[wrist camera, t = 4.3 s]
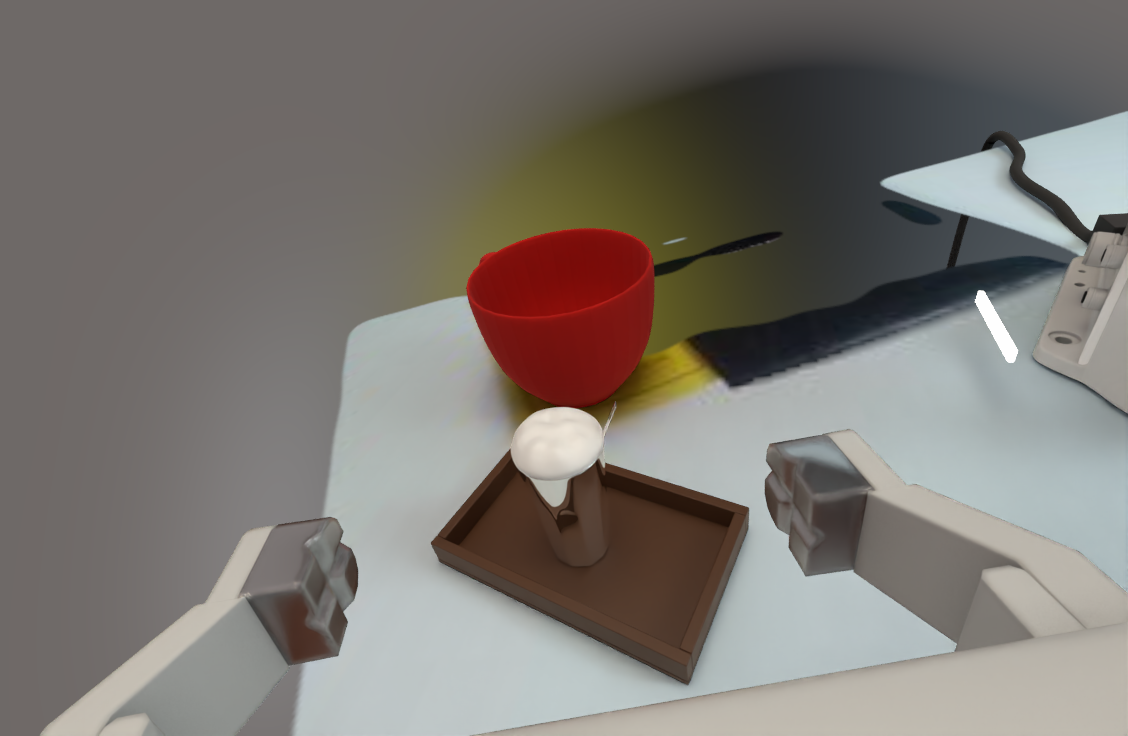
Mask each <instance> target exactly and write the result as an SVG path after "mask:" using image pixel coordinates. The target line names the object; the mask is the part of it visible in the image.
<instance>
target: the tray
mask: <svg viewBox="0 0 1128 736" xmlns="http://www.w3.org/2000/svg"><path fill="white" fill-rule="evenodd" d="M605 476H606V489H607V501H608V513H609V526H610V542H609V545H608V548H607V551H606V554H605V556H603V557H602V558H600V559H599V560H598V561H596V562H595V563H594V564H592V565H591V566H579V567H572V566H570V565H568V564H567V563H565V562H563V561H561V560H560V559H558V558H557V556H556V553H555V551H554V549H553V546H552V544H551V542H550V539H549V537H548V535H547V532H546V530H545V528H544V525H543V523H542V521H541V518H540V516H539V514H538V511H537V509H536V507H535V505H534V503H533V501H532V499H531V497H530V495H529V493H528V491H527V489H526V487H525V485H524V482H523V480H522V478H521V476H520V474H519V472H518V470H517V468H516V466H515V464H514V462H513V459H512V456H511V448H510V450H509V451H508V452H507V453H506V454H505V456H504V457H503V458H502V459H501V460H500V461H499V463H498V464H497V465H496V466H495V467H494V469H493V470H492V471H491V472H490V473H489V474H488V476H487V477H486V478H485V479H484V480H483V482H482V483H481V484H480V485H479V486H478V488H477V489H476V490H475V491H474V492H473V493H472V495H471V496H470V497H469V498H468V499H467V501H466V502H465V503H464V504H463V505H462V506H461V508H460V509H459V510H458V511H457V512H456V514H455V515H454V516H453V517H452V518H451V520H450V521H449V522H448V523H447V524H446V525H445V527H444V528H443V529H442V530H441V531H440V533H439V534H438V536H436V537H435V538H434V540H433V541H432V542H431V545H432V547H433V549H434V551H435V553H436V555H437V557H438V559H439V561H440V562H442V563H444V564H446V565H448V566H450V567H452V568H454V569H456V570H458V571H460V572H462V573H464V574H466V575H468V576H470V577H472V578H474V579H476V580H478V581H480V582H482V583H484V584H486V585H488V586H490V587H492V588H494V589H496V590H498V591H500V592H502V593H504V594H506V595H508V596H510V597H512V598H514V599H516V600H518V601H520V602H522V603H524V604H526V605H528V606H530V607H532V608H534V609H536V610H538V611H540V612H542V613H544V614H546V615H548V616H550V617H552V618H554V619H556V620H558V621H560V622H562V623H564V624H566V625H568V626H570V627H572V628H574V629H576V630H578V631H580V632H582V633H584V634H586V635H588V636H590V637H592V638H594V639H596V640H598V641H600V642H602V643H604V644H606V645H608V646H610V647H612V648H614V649H616V650H618V651H620V652H622V653H624V654H626V655H628V656H630V657H632V658H634V659H637V660H639V661H641V662H643V663H645V664H647V665H649V666H651V667H653V668H655V669H657V670H659V671H661V672H663V673H665V674H667V675H669V676H671V677H673V678H675V679H677V680H679V681H681V682H683V683H685V684H687V685H688V684H689V682H690V679H691V677H692V674H693V671H694V669H695V666H696V664H697V661H698V658H699V656H700V653H701V651H702V648H703V645H704V643H705V640H706V638H707V635H708V632H709V630H710V627H711V624H712V622H713V619H714V617H715V614H716V611H717V609H718V606H719V604H720V601H721V598H722V596H723V593H724V590H725V588H726V585H727V583H728V580H729V577H730V575H731V572H732V570H733V567H734V564H735V562H736V559H737V557H738V554H739V551H740V549H741V546H742V543H743V541H744V538H745V536H746V533H747V530H748V522H749V508H748V507H745V506H742V505H739V504H736V503H732V502H729V501H726V500H723V499H720V498H716V497H713V496H710V495H707V494H704V493H700V492H697V491H694V490H691V489H688V488H684V487H681V486H678V485H675V484H672V483H668V482H665V481H662V480H659V479H656V478H652V477H649V476H646V475H643V474H639V473H636V472H633V471H630V470H627V469H623V468H620V467H617V466H614V465H611V464H607V463H605Z"/></svg>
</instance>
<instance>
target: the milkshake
mask: <svg viewBox="0 0 1128 736" xmlns="http://www.w3.org/2000/svg"><path fill="white" fill-rule="evenodd" d="M615 409H616V401H615V402H614V405H613V407H612V410H611V412H610V415H609V417H608V420H607V423H606V425H605V428H604V430H603V431H602V428H601V426H600V424H599V422H598V421H597V420H596V419H595V418H594V417H593V416H591V415H590V414H588V413H586V412H584V411H582V410H579V409H575V408H570V407H555V408H548V409H543V410H540V411H537V412H535V413H533V414H532V415H530V416H529V417H528V418H527V419H526V420H524V421H523V422H522V423H521V425H520V426H519V427H518V428H517V430H516V432H515V434H514V436H513V439H512V443H511V456H512V459H513V462H514V464H515V466H516V468H517V470H518V472H519V474H520V476H521V478H522V480H523V482H524V485H525V487H526V489H527V491H528V493H529V495H530V497H531V499H532V501H533V503H534V505H535V507H536V509H537V511H538V514H539V516H540V518H541V521H542V523H543V525H544V528H545V530H546V532H547V535H548V537H549V539H550V542H551V544H552V546H553V549H554V551H555V553H556V556H557V558H558V559H560V560H561V561H563V562H565V563H567V564H568V565H570V566H572V567H579V566H591V565H592V564H594V563H595V562H596V561H598V560H599V559H600V558H602V557H603V556H605V554H606V551H607V548H608V545H609V542H610V526H609V513H608V501H607V489H606V476H605V453H604V437H605V434H606V432H607V429H608V427H609V424H610V422H611V419H612V417H613V414H614V412H615Z"/></svg>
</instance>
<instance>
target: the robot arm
mask: <svg viewBox="0 0 1128 736" xmlns="http://www.w3.org/2000/svg"><path fill="white" fill-rule="evenodd" d="M997 140H1001V141H1002V142H1004V143H1005V144H1006V146H1007V147H1008V148H1009V149H1010V151H1011V152H1012V153H1013V155H1014V160H1013V162H1012V164H1011V167H1010V173H1011V176H1012V179H1013V180H1014V181H1015V182H1016V183H1017V184H1018V185H1019V186H1020V187H1021V188H1023V189H1024V190H1026V191H1027V192H1029V193H1030V194H1032V195H1033V196H1035V197H1037V198H1038V199H1040V200H1041V201H1043V202H1044V203H1046V204H1047V205H1048V206H1049V207H1051V208H1052V209H1053V210H1054V212H1055V213H1056V214H1057V215H1058V216H1059V218H1060V219H1061V221H1062V222H1063V223H1064V224H1065V225H1066V227H1067V228H1068V229H1069V230H1070V231H1072V232H1073V233H1074V234H1075V235H1076V236H1078V237H1079V238H1080V239H1082V240H1083V241H1086V242H1088V247H1087V249H1086V252H1085V255H1084V256H1080V257H1076V258H1074V259H1073V260H1072V261H1071V263H1070V265H1069V266H1068V268H1067V270H1066V272H1065V274H1064V277H1063V279H1062V282H1061V284H1060V287H1059V289H1058V291H1057V294H1056V296H1055V299H1054V301H1053V304H1052V306H1051V309H1050V311H1049V314H1048V316H1047V319H1046V321H1045V324H1044V326H1043V329H1042V331H1041V334H1040V336H1039V339H1038V341H1037V344H1036V346H1035V349H1034V351H1033V357H1034V359H1035V360H1036V361H1038V362H1039V363H1040V364H1042V365H1044V366H1046V367H1048V368H1050V369H1052V370H1054V371H1056V372H1059V373H1061V374H1063V375H1066V376H1068V377H1070V378H1073V379H1075V380H1078V381H1080V382H1082V383H1084V384H1085V385H1087V386H1088V387H1090V388H1091V389H1093V390H1094V391H1096V392H1097V393H1098V394H1100V395H1101V396H1102V397H1104V398H1105V399H1106V400H1108V401H1109V402H1110V403H1112V404H1113V405H1115V406H1116V407H1118V408H1119V409H1121V410H1123V411H1124V412H1126V413H1127V414H1128V213H1127V214H1108V215H1099V217H1098V220H1097V222H1096V224H1095V227H1094V229H1093V231H1090V230H1089V229H1087V228H1086V227H1085V226H1084V225H1083V224H1082V223H1081V222H1080V220H1079V219H1078V218H1077V216H1076V215H1075V214H1074V212H1073V211H1072V210H1071V208H1070V207H1069V206H1068V205H1067V204H1066V203H1065V202H1064V201H1063V200H1062V199H1061V198H1059V197H1058V196H1056V195H1055V194H1053V193H1052V192H1050V191H1049V190H1047V189H1045V188H1043V187H1042V186H1040V185H1038V184H1037V183H1035V182H1034V181H1032V180H1031V179H1030V178H1028V177H1027V176H1026V175H1025V174H1024V172H1023V171H1022V165H1023V163H1024V160H1025V151H1024V149H1023V147H1022V146H1021V145H1020V143H1019V142H1018V141H1017V140H1016V139H1015V138H1014V137H1013V136H1012V135H1011V134H1009V133H1007V132H1004V131H998V132H995V133H993V134H992V135H991V136H990V137H989V138H988V139H987V140H986V142H985V143H984V145H983V147H982V150H981V152H984V151H987V150H991V149H992V147H993V145H994V143H995V142H996V141H997ZM968 219H969V215H965V214H962V213H961V216H960V220H959V223H958V226H957V230H956V234H955V237H954V241H953V245H952V248H951V252H950V256H949V260H948V264H947V268H951V267H954V266H955V265H956V261H957V257H958V254H959V250H960V246H961V243H962V239H963V235H964V232H965V229H966V225H967V222H968ZM975 302H976V304H977V306H978V308H979V310H980V312H981V313H982V315H983V317H984V319H985V321H986V323H987V325H988V327H989V328H990V330H991V332H992V334H993V336H994V338H995V340H996V341H997V343H998V345H999V347H1000V349H1001V351H1002V353H1003V354H1004V356H1005V358H1006V360H1007V362H1014V360H1015V358H1016V355H1017V353H1018V350H1017V348H1016V346H1015V345H1014V343H1013V341H1012V339H1011V338H1010V336H1009V334H1008V332H1007V331H1006V329H1005V327H1004V325H1003V324H1002V322H1001V320H1000V318H999V317H998V315H997V313H996V311H995V310H994V308H993V306H992V305H991V303H990V301H989V299H988V298H987V296H986V294H985V292H984V291H978V294H977V297H976V300H975ZM766 462H767V463H768V465H769V466H770V468H771V469H772V472H771V473H770V474H769V475H768V476H767V478H766V479H765V497H766V502H767V507H768V510H769V512H770V515H771V517H772V519H773V521H774V523H775V525H776V527H777V528H778V529H779V530H781V531H783V532H784V533H786V534H788V535H789V549H790V551H791V552H792V554H793V556H794V557H795V559H796V561H797V562H798V564H799V566H800V567H801V569H802V571H803V572H804V574H805V576H812V575H819V574H826V573H833V572H840V571H847V570H854V573H856V574H857V575H859V576H860V577H862V578H863V579H864V580H866V581H867V582H869V583H870V584H872V585H873V586H875V587H876V588H877V589H879V590H880V591H882V592H883V593H885V594H886V595H888V596H889V597H890V598H892V599H893V600H895V601H896V602H898V603H899V604H901V605H902V606H903V607H905V608H906V609H908V610H909V611H911V612H912V613H914V614H915V615H916V616H918V617H919V618H921V619H922V620H924V621H925V622H927V623H928V624H929V625H931V626H932V627H934V628H935V629H937V630H938V631H940V632H941V633H942V634H944V635H945V636H947V637H948V638H950V639H951V640H953V641H954V642H955V643H957V645H956V648H955V651H954V652H951V653H945V654H939V655H933V656H928V657H922V658H916V659H910V660H904V661H899V662H893V663H887V664H881V665H875V666H870V667H864V668H858V669H852V670H846V671H841V672H835V673H829V674H823V675H817V676H812V677H806V678H800V679H795V680H789V681H783V682H777V683H772V684H766V685H760V686H755V687H749V688H743V689H737V690H732V691H726V692H720V693H714V694H709V695H703V696H697V697H692V698H686V699H680V700H674V701H669V702H663V703H657V704H651V705H646V706H640V707H634V708H628V709H623V710H617V711H611V712H605V713H599V714H593V715H588V716H582V717H576V718H570V719H564V720H559V721H553V722H547V723H541V724H535V725H529V726H524V727H518V728H512V729H506V730H500V731H495V732H489V733H483V734H477V735H471V736H1128V593H1127V592H1126V591H1125V590H1124V589H1122V588H1121V587H1120V586H1119V585H1118V584H1116V583H1115V582H1114V581H1113V580H1112V579H1111V578H1109V577H1108V576H1107V575H1106V574H1105V573H1104V572H1102V571H1101V570H1100V569H1099V568H1098V567H1097V566H1095V565H1094V564H1093V563H1092V562H1091V561H1090V560H1088V559H1087V558H1086V557H1085V556H1084V555H1083V554H1081V553H1080V552H1079V551H1077V550H1074V549H1072V548H1070V547H1067V546H1065V545H1062V544H1060V543H1057V542H1055V541H1053V540H1050V539H1048V538H1045V537H1043V536H1040V535H1038V534H1036V533H1033V532H1031V531H1028V530H1026V529H1023V528H1021V527H1019V526H1016V525H1014V524H1011V523H1009V522H1006V521H1004V520H1002V519H999V518H997V517H994V516H992V515H989V514H987V513H985V512H982V511H980V510H977V509H975V508H972V507H970V506H968V505H965V504H963V503H960V502H958V501H955V500H953V499H951V498H948V497H946V496H943V495H941V494H938V493H936V492H934V491H931V490H929V489H926V488H924V487H921V486H919V485H917V484H913V485H906V484H905V483H904V482H903V480H902V479H901V478H900V477H899V476H898V475H897V474H896V473H895V472H894V471H893V470H892V469H891V468H890V467H889V466H888V465H887V464H886V463H885V462H884V461H883V460H882V459H881V458H880V457H879V456H878V455H877V453H876V452H875V451H874V450H873V449H872V448H871V447H870V446H869V445H868V444H867V443H866V442H865V441H864V440H863V439H862V438H861V437H860V436H859V435H858V434H857V433H856V432H855V431H853V430H850V429H847V430H842V431H837V432H831V433H826V434H822V435H818V436H812V437H806V438H801V439H795V440H789V441H783V442H778V443H772V444H769V447H768V449H767V456H766ZM342 534H343V530H342V528H341V526H340V524H339V522H338V520H337V519H335V518H332V517H327V518H320V519H313V520H307V521H300V522H292V523H285V524H279V525H276V526H268V527H261V528H255V529H251V530H249V531H248V532H246V533H245V534H244V535H243V536H242V538H241V540H240V542H239V543H238V545H237V547H236V549H235V551H234V552H233V554H232V556H231V558H230V560H229V561H228V563H227V565H226V567H225V568H224V570H223V572H222V574H221V575H220V577H219V579H218V581H217V583H216V584H215V586H214V588H213V590H212V591H211V593H210V595H209V597H208V598H207V600H206V602H205V604H201V605H196V606H194V607H193V608H192V609H191V610H189V611H188V612H187V613H186V614H184V615H183V616H182V617H181V618H179V619H178V620H177V621H176V622H175V623H173V624H172V625H171V626H170V627H168V628H167V629H166V630H165V631H164V632H162V633H161V634H160V635H159V636H157V637H156V638H155V639H154V640H152V641H151V642H150V643H149V644H147V645H146V646H145V647H144V648H142V649H141V650H140V651H139V652H138V653H136V654H135V655H134V656H133V657H131V658H130V659H129V660H128V661H127V662H125V663H124V664H123V665H122V666H120V667H119V668H118V669H117V670H115V671H114V672H113V673H112V674H110V675H109V676H108V677H107V678H106V679H104V680H103V681H102V682H101V683H99V684H98V685H97V686H96V687H94V688H93V689H92V690H91V691H89V692H88V693H87V694H86V695H85V696H83V697H82V698H81V699H80V700H79V701H77V702H76V703H75V704H74V705H72V706H71V707H70V708H68V709H67V710H66V711H65V712H64V713H62V714H61V715H60V716H59V717H57V718H56V719H55V720H54V721H52V722H51V723H50V724H49V725H48V726H46V728H45V729H44V730H43V732H42V733H41V735H40V736H236V735H237V734H238V732H239V731H240V730H241V729H242V727H243V726H244V725H245V724H246V722H247V721H248V720H249V719H250V717H251V716H252V715H253V714H254V713H255V711H256V710H257V709H258V708H259V706H260V705H261V704H262V703H263V701H264V700H265V699H266V698H267V696H268V695H269V694H270V693H271V691H272V690H273V689H274V688H275V686H276V685H277V684H278V683H279V681H280V680H281V679H282V677H283V676H284V675H285V674H286V673H287V671H288V670H289V669H290V667H289V666H290V665H295V664H300V663H305V662H310V661H315V660H321V659H326V658H331V657H336V656H338V655H339V651H340V648H341V644H342V641H343V637H344V634H345V630H346V627H347V624H348V621H347V619H346V617H345V615H344V613H343V611H344V610H345V609H346V608H347V607H348V606H349V605H350V604H351V603H352V602H353V601H354V599H355V595H356V591H357V587H358V567H357V563H356V558H355V556H354V554H353V551H352V549H351V548H349V547H347V546H346V545H344V544H342V543H341V542H340V540H341V537H342Z"/></svg>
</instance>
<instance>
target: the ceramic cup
mask: <svg viewBox="0 0 1128 736" xmlns="http://www.w3.org/2000/svg"><path fill="white" fill-rule="evenodd" d="M466 289H467V295H468V300H469V304H470V307H471V309H472V312H473V315H474V317H475V320H476V322H477V325H478V327H479V329H480V332H481V334H482V336H483V338H484V340H485V342H486V344H487V346H488V348H489V350H490V351H491V353H492V355H493V356H494V358H495V359H496V361H497V363H498V364H499V366H500V367H501V368H502V370H503V371H504V372H505V373H506V375H507V376H508V377H509V378H510V379H512V380H513V381H514V382H515V383H516V384H517V385H519V386H520V387H521V388H522V389H524V390H525V391H527V392H528V393H530V394H532V395H534V396H536V397H538V398H540V399H542V400H545V401H547V402H549V403H551V404H553V405H555V406H559V407H570V408H582V407H588V406H591V405H595V404H597V403H599V402H602V401H604V400H605V399H607V398H609V397H610V396H611V395H612V394H613V393H615V391H616V390H617V389H618V387H619V386H620V385H622V384H623V383H624V382H625V381H626V379H627V378H628V377H629V376H630V374H631V373H632V372H633V371H634V369H635V368H636V366H637V365H638V363H639V361H640V360H641V357H642V355H643V353H644V350H645V348H646V346H647V343H648V340H649V336H650V332H651V326H652V319H653V307H654V263H653V258H652V255H651V252H650V250H649V248H648V247H647V246H646V245H645V244H644V243H643V242H642V241H641V240H639V239H637V238H636V237H634V236H632V235H629V234H626V233H623V232H618V231H614V230H607V229H596V228H589V229H588V228H587V229H586V228H584V229H571V230H562V231H556V232H550V233H546V234H542V235H538V236H534V237H531V238H528V239H525V240H522V241H519V242H516V243H514V244H512V245H509V246H507V247H505V248H503V249H501V250H499V251H498V252H492V253H488V254H486V255H484V256H483V257H482V258H481V260H480V263H479V266H478V267H477V268H476V269H475V270H474V271H473V273H472V274H471V276H470V277H469V279H468V284H467V288H466Z"/></svg>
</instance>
